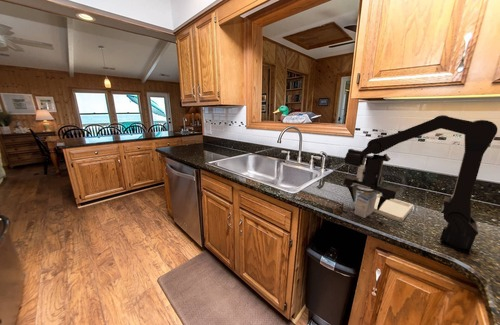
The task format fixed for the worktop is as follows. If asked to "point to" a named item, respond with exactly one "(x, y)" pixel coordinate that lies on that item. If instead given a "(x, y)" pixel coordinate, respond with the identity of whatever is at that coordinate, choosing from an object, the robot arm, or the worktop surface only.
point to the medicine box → (365, 204)
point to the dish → (393, 209)
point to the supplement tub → (361, 177)
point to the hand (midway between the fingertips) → (365, 205)
